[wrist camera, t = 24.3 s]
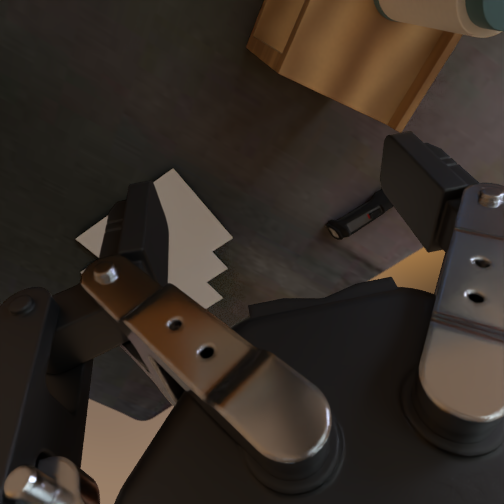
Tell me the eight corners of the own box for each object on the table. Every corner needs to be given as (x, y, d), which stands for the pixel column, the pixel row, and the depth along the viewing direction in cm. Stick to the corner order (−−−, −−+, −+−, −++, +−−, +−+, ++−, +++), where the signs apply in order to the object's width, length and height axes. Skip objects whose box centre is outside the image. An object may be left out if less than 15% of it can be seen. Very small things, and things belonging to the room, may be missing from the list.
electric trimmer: (418, 183, 60) (430, 192, 57) (332, 237, 62) (340, 248, 59) (412, 165, 57) (424, 173, 55) (323, 221, 60) (331, 232, 57)
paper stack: (263, 272, 63) (264, 274, 62) (145, 346, 67) (145, 349, 67) (172, 166, 49) (173, 168, 49) (31, 268, 54) (30, 271, 53)
